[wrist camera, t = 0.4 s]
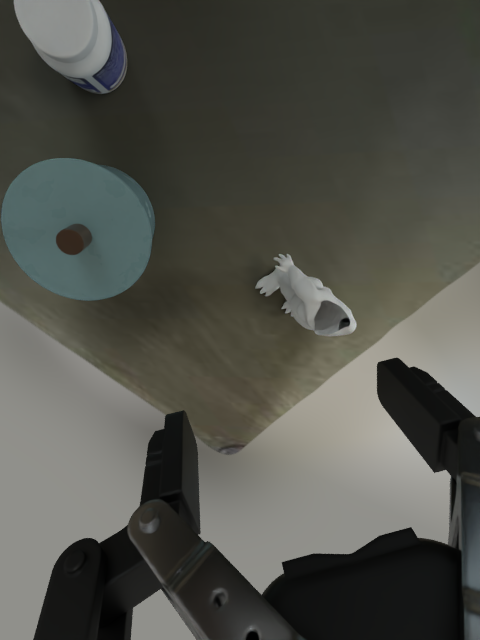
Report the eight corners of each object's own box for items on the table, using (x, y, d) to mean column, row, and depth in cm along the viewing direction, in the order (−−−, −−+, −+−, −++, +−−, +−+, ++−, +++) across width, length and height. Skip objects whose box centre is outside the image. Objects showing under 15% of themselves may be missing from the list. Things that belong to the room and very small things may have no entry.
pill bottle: (109, 5, 28) (73, -66, 19) (139, 83, 31) (118, 51, 22) (46, 28, 28) (-19, -33, 20) (81, 104, 31) (37, 80, 22)
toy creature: (236, 274, 40) (254, 315, 30) (270, 235, 39) (301, 263, 28) (303, 327, 45) (340, 380, 34) (336, 294, 43) (384, 338, 33)
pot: (24, 171, 33) (-51, 175, 22) (141, 148, 33) (119, 142, 23) (71, 280, 38) (28, 325, 28) (171, 259, 38) (165, 295, 28)
